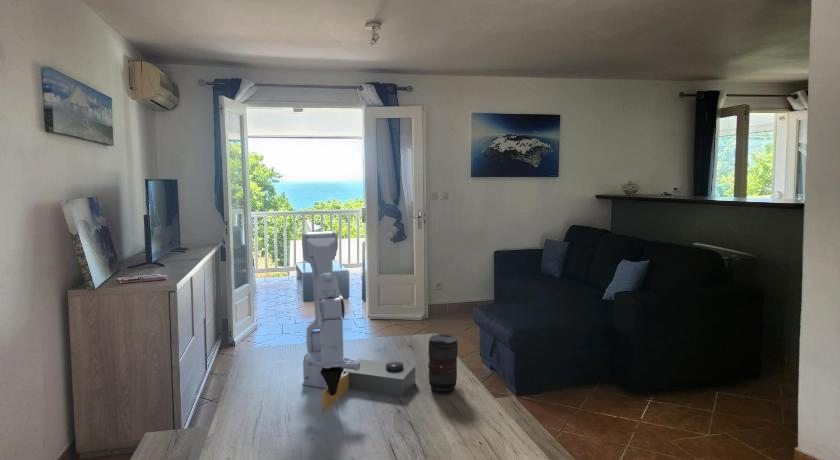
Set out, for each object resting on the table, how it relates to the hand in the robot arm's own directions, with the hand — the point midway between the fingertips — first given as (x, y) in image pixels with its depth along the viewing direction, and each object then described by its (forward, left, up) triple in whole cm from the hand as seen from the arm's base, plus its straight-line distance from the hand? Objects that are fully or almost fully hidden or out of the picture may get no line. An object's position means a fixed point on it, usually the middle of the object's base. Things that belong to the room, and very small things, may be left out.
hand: (333, 393), depth 136 cm
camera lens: (+24, +19, -4) cm, 31 cm away
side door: (-2, +4, -4) cm, 6 cm away
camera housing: (+6, +16, -4) cm, 18 cm away
